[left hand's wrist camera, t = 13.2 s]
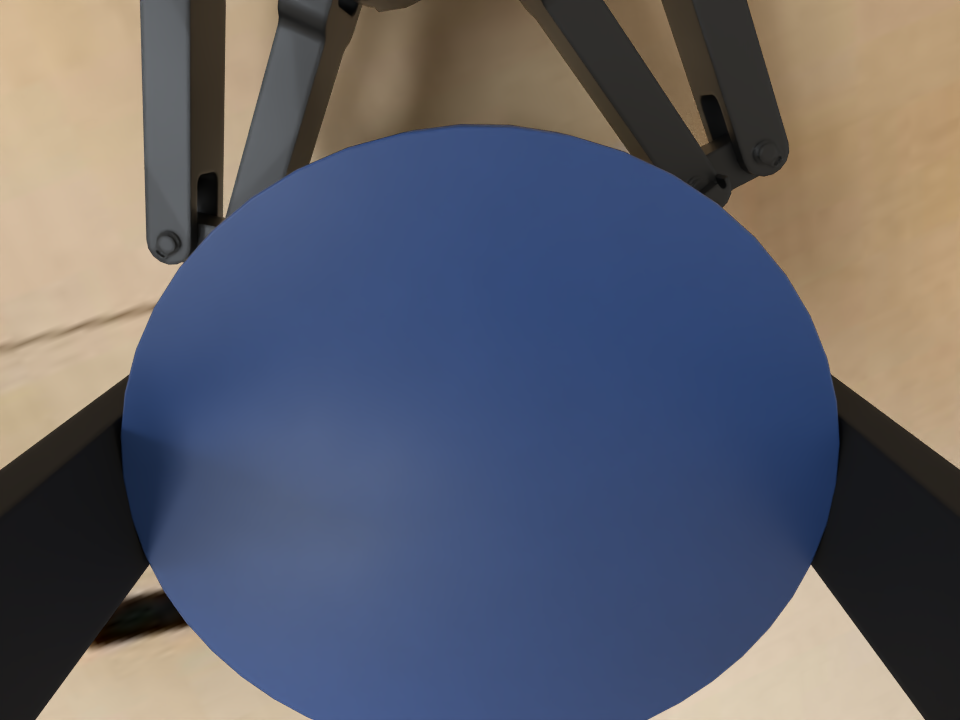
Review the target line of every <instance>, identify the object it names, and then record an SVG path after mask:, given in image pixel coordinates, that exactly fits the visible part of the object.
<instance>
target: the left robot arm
mask: <svg viewBox="0 0 960 720" xmlns="http://www.w3.org/2000/svg"><path fill="white" fill-rule="evenodd" d="M129 375H130V374H129ZM129 375H128V376H127V377H125V378H124V379H123V380H121V381H120V382H119V383H117V384H116V385H114V386H113V387H112V388H110V389H109V390H108V391H106V392H105V393H104V394H102V395H101V396H100V397H98V398H97V399H96V400H94V401H93V402H92V403H90V404H89V405H87V406H86V407H85V408H83V409H82V410H81V411H79V412H78V413H77V414H75V415H74V416H73V417H71V418H70V419H69V420H67V421H66V422H65V423H63V424H62V425H60V426H59V427H58V428H56V429H55V430H54V431H52V432H51V433H50V434H48V435H47V436H46V437H44V438H43V439H42V440H40V441H39V442H38V443H36V444H35V445H34V446H32V447H31V448H29V449H28V450H27V451H25V452H24V453H23V454H21V455H20V456H19V457H17V458H16V459H15V460H13V461H12V462H11V463H9V464H8V465H7V466H5V467H4V468H2V469H1V470H0V720H36V718H37V717H38V715H39V714H40V713H41V711H42V710H43V709H44V707H45V706H46V705H47V703H48V702H49V700H50V699H51V698H52V696H53V695H54V694H55V692H56V691H57V690H58V688H59V687H60V685H61V684H62V683H63V681H64V680H65V679H66V677H67V676H68V675H69V673H70V672H71V671H72V669H73V668H74V666H75V665H76V664H77V662H78V661H79V660H80V658H81V657H82V656H83V654H84V653H85V651H86V650H87V649H88V647H89V646H90V645H91V643H92V642H93V641H94V639H95V638H96V636H97V635H98V634H99V632H100V631H101V630H102V628H103V627H104V626H105V624H106V623H107V622H108V620H109V619H110V617H111V616H112V615H113V613H114V612H115V611H116V609H117V608H118V607H119V605H120V604H121V602H122V601H123V600H124V598H125V597H126V596H127V594H128V593H129V592H130V590H131V589H132V587H133V586H134V585H135V583H136V582H137V581H138V579H139V578H140V577H141V575H142V574H143V572H144V571H145V570H146V568H147V567H148V566H149V562H148V560H147V558H146V556H145V554H144V551H143V548H142V546H141V543H140V540H139V537H138V534H137V532H136V529H135V526H134V523H133V520H132V516H131V511H130V506H129V502H128V497H127V493H126V488H125V483H124V479H123V469H122V451H121V427H122V417H123V407H124V396H125V390H126V386H127V382H128V379H129ZM831 377H832V382H833V386H834V391H835V395H836V400H837V411H838V426H839V441H840V447H839V458H838V470H837V481H836V486H835V490H834V495H833V499H832V504H831V508H830V512H829V517H828V521H827V526H826V528H825V531H824V533H823V536H822V538H821V541H820V543H819V546H818V548H817V551H816V554H815V556H814V559H813V561H812V563H811V565H812V567H813V568H814V569H815V571H816V572H817V573H818V575H819V576H820V577H821V579H822V580H823V581H824V583H825V584H826V586H827V587H828V588H829V590H830V591H831V592H832V594H833V595H834V596H835V598H836V599H837V601H838V602H839V603H840V605H841V606H842V607H843V609H844V610H845V611H846V613H847V614H848V615H849V617H850V618H851V620H852V621H853V622H854V624H855V625H856V626H857V628H858V629H859V630H860V632H861V633H862V635H863V636H864V637H865V639H866V640H867V641H868V643H869V644H870V645H871V647H872V648H873V650H874V651H875V652H876V654H877V655H878V656H879V658H880V659H881V660H882V662H883V663H884V664H885V666H886V667H887V669H888V670H889V671H890V673H891V674H892V675H893V677H894V678H895V679H896V681H897V682H898V684H899V685H900V686H901V688H902V689H903V690H904V692H905V693H906V694H907V696H908V697H909V699H910V700H911V701H912V703H913V704H914V705H915V707H916V708H917V709H918V711H919V712H920V713H921V715H922V716H923V718H924V719H925V720H960V470H959V469H958V468H957V467H955V466H954V465H953V464H951V463H950V462H949V461H947V460H946V459H944V458H943V457H942V456H940V455H939V454H938V453H936V452H935V451H934V450H932V449H931V448H930V447H928V446H927V445H926V444H924V443H923V442H922V441H920V440H919V439H918V438H916V437H915V436H913V435H912V434H911V433H909V432H908V431H907V430H905V429H904V428H903V427H901V426H900V425H899V424H897V423H896V422H895V421H893V420H892V419H891V418H889V417H888V416H886V415H885V414H884V413H882V412H881V411H880V410H878V409H877V408H876V407H874V406H873V405H872V404H870V403H869V402H868V401H866V400H865V399H864V398H862V397H861V396H859V395H858V394H857V393H855V392H854V391H853V390H851V389H850V388H849V387H847V386H846V385H845V384H843V383H842V382H841V381H839V380H838V379H837V378H835V377H834V376H832V375H831Z"/></svg>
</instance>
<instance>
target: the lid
mask: <svg viewBox="0 0 960 720" xmlns="http://www.w3.org/2000/svg"><path fill="white" fill-rule="evenodd" d="M839 447H840V441H839V426H838V411H837V400H836V395H835V391H834V386H833V382H832V377H831V373H830V369H829V364H828V360H827V356H826V354H825V351H824V349H823V346H822V344H821V341H820V339H819V336H818V334H817V331H816V329H815V326H814V324H813V321H812V319H811V316H810V314H809V313H808V311H807V309H806V308H805V306H804V304H803V302H802V301H801V299H800V297H799V296H798V294H797V292H796V291H795V289H794V287H793V286H792V284H791V282H790V281H789V279H788V277H787V275H786V274H785V273H784V272H783V271H782V269H781V268H780V267H779V266H778V264H777V263H776V262H775V261H774V260H773V258H772V257H771V256H770V255H769V254H768V252H767V251H766V250H765V249H764V247H763V246H762V245H761V244H760V243H759V241H758V240H757V239H756V238H755V237H754V236H753V235H752V234H751V233H750V232H749V231H747V230H746V229H745V228H744V227H743V226H742V225H741V224H740V223H739V222H737V221H736V220H735V219H734V218H733V217H732V216H731V215H730V214H728V213H727V212H726V211H725V210H724V209H723V208H722V207H721V206H720V205H718V204H717V203H716V202H714V201H713V200H711V199H710V198H708V197H707V196H705V195H704V194H702V193H701V192H699V191H698V190H696V189H694V188H693V187H691V186H690V185H688V184H687V183H685V182H684V181H682V180H681V179H679V178H678V177H676V176H675V175H673V174H671V173H669V172H667V171H665V170H662V169H660V168H658V167H656V166H654V165H652V164H650V163H647V162H645V161H643V160H641V159H639V158H637V157H635V156H632V155H630V154H628V153H626V152H624V151H621V150H617V149H614V148H611V147H607V146H604V145H601V144H597V143H594V142H591V141H587V140H584V139H581V138H577V137H574V136H571V135H567V134H562V133H558V132H552V131H546V130H539V129H533V128H526V127H520V126H513V125H486V124H458V125H450V126H442V127H434V128H427V129H419V130H412V131H408V132H403V133H399V134H395V135H392V136H388V137H384V138H381V139H377V140H373V141H370V142H366V143H362V144H359V145H355V146H351V147H348V148H345V149H343V150H340V151H338V152H336V153H334V154H331V155H329V156H327V157H324V158H322V159H320V160H317V161H315V162H313V163H310V164H308V165H306V166H303V167H301V168H299V169H297V170H295V171H293V172H292V173H290V174H288V175H287V176H285V177H284V178H282V179H280V180H279V181H277V182H275V183H274V184H272V185H271V186H269V187H267V188H266V189H264V190H262V191H261V192H259V193H258V194H256V195H254V196H253V197H251V198H250V199H249V200H248V201H246V202H245V203H244V204H243V205H242V206H240V207H239V208H238V209H237V210H236V211H235V212H233V213H232V214H231V215H230V216H229V217H227V218H226V219H225V220H224V221H223V222H222V223H220V224H219V225H218V226H217V227H216V228H214V229H213V230H212V231H211V232H210V233H209V235H208V236H207V237H206V238H205V239H204V240H203V241H202V243H201V244H200V245H199V246H198V247H197V248H196V249H195V251H194V252H193V253H192V254H191V255H190V256H189V257H188V259H187V260H186V261H185V262H184V263H183V264H182V265H181V267H180V268H179V269H178V271H177V272H176V274H175V276H174V277H173V279H172V280H171V282H170V283H169V285H168V287H167V288H166V290H165V291H164V293H163V295H162V296H161V298H160V299H159V301H158V302H157V304H156V306H155V307H154V309H153V311H152V314H151V316H150V318H149V321H148V323H147V325H146V328H145V330H144V332H143V335H142V337H141V339H140V341H139V344H138V346H137V348H136V351H135V355H134V359H133V363H132V367H131V371H130V375H129V379H128V382H127V386H126V390H125V396H124V407H123V417H122V427H121V451H122V469H123V479H124V483H125V488H126V493H127V497H128V502H129V506H130V511H131V516H132V520H133V523H134V526H135V529H136V532H137V534H138V537H139V540H140V543H141V546H142V548H143V551H144V554H145V556H146V558H147V560H148V562H149V564H150V566H151V567H152V569H153V571H154V573H155V575H156V577H157V579H158V581H159V583H160V585H161V587H162V588H163V590H164V592H165V593H166V594H167V596H168V597H169V599H170V600H171V602H172V603H173V604H174V606H175V607H176V609H177V610H178V612H179V613H180V614H181V616H182V617H183V619H184V620H185V621H186V623H187V624H188V625H189V626H190V627H191V628H192V629H193V630H194V632H195V633H196V634H197V635H198V636H199V637H200V638H201V639H202V640H203V641H204V643H205V644H206V645H207V646H208V647H209V648H210V649H211V650H212V651H213V652H214V653H215V654H216V655H217V656H218V657H220V658H221V659H222V660H223V661H224V662H225V663H226V664H228V665H229V666H230V667H231V668H232V669H233V670H235V671H236V672H237V673H238V674H239V675H240V676H241V677H243V678H244V679H246V680H247V681H249V682H250V683H251V684H253V685H254V686H256V687H257V688H259V689H260V690H262V691H263V692H264V693H266V694H267V695H269V696H270V697H272V698H273V699H275V700H277V701H279V702H280V703H282V704H284V705H286V706H288V707H290V708H291V709H293V710H295V711H297V712H299V713H301V714H302V715H304V716H306V717H308V718H310V719H313V720H648V719H650V718H652V717H654V716H656V715H657V714H659V713H661V712H663V711H665V710H667V709H669V708H671V707H673V706H675V705H677V704H679V703H681V702H682V701H684V700H685V699H687V698H688V697H690V696H691V695H693V694H694V693H696V692H697V691H699V690H700V689H702V688H703V687H705V686H706V685H708V684H709V683H711V682H712V681H714V680H715V679H716V678H717V677H718V676H720V675H721V674H722V673H723V672H724V671H726V670H727V669H728V668H729V667H730V666H732V665H733V664H734V663H735V662H736V661H738V660H739V659H740V658H741V657H742V656H743V655H744V654H745V653H746V652H747V651H748V650H749V649H750V648H751V647H752V646H753V645H754V644H755V643H756V642H757V641H758V640H759V639H760V637H761V636H762V635H763V634H764V633H765V632H766V631H767V630H768V629H769V628H770V627H771V625H772V624H773V623H774V621H775V620H776V619H777V617H778V616H779V615H780V613H781V612H782V611H783V609H784V608H785V606H786V605H787V604H788V602H789V601H790V600H791V598H792V597H793V595H794V594H795V592H796V590H797V588H798V586H799V585H800V583H801V581H802V579H803V578H804V576H805V574H806V572H807V570H808V569H809V567H810V565H811V563H812V561H813V559H814V556H815V554H816V551H817V548H818V546H819V543H820V541H821V538H822V536H823V533H824V531H825V528H826V526H827V521H828V517H829V512H830V508H831V504H832V499H833V495H834V490H835V486H836V481H837V470H838V458H839Z"/></svg>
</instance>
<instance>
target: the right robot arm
mask: <svg viewBox="0 0 960 720" xmlns="http://www.w3.org/2000/svg"><path fill="white" fill-rule="evenodd" d="M418 1H420V0H278V14H279V22H278V27H277V30H276V34H275V38H274V41H273V45H272V49H271V52H270V56H269V60H268V63H267V67H266V71H265V74H264V78H263V82H262V85H261V89H260V93H259V97H258V100H257V104H256V108H255V111H254V115H253V119H252V122H251V126H250V130H249V133H248V137H247V141H246V144H245V148H244V152H243V155H242V159H241V163H240V166H239V170H238V174H237V177H236V181H235V185H234V188H233V192H232V196H231V200H230V203H229V207H228V211H227V214H226V218H227V217H229V216H230V215H231V214H232V213H233V212H235V211H236V210H237V209H238V208H239V207H240V206H242V205H243V204H244V203H245V202H246V201H248V200H249V199H250V198H251V197H253V196H254V195H256V194H258V193H259V192H261V191H262V190H264V189H266V188H267V187H269V186H271V185H272V184H274V183H275V182H277V181H279V180H280V179H282V178H284V177H285V176H287V175H288V174H290V173H292V172H293V171H295V170H297V169H299V168H301V167H303V166H306V165H308V164H309V163H310V160H311V157H312V153H313V150H314V147H315V144H316V140H317V137H318V134H319V131H320V127H321V124H322V121H323V118H324V114H325V111H326V108H327V105H328V101H329V98H330V95H331V92H332V88H333V85H334V82H335V79H336V75H337V72H338V69H339V66H340V62H341V59H342V56H343V53H344V50H345V48H346V47H347V45H348V44H349V42H350V40H351V38H352V35H353V33H354V30H355V26H356V23H357V20H358V17H359V13H360V10H361V7H362V5H364V6H367V7H372V8H375V9H376V10H377V11H378V12H383V11H389V10H395V9H401V8H406V7H408V6H410V5H412V4H414V3H416V2H418ZM661 1H662V4H663V7H664V10H665V13H666V16H667V19H668V22H669V25H670V27H671V30H672V33H673V36H674V39H675V42H676V45H677V48H678V51H679V54H680V57H681V60H682V63H683V66H684V69H685V72H686V75H687V78H688V81H689V84H690V87H691V90H692V93H693V96H694V99H695V102H696V105H697V108H698V111H699V114H700V117H701V120H702V123H703V126H704V129H705V132H706V135H707V138H708V141H709V143H707V144H706V145H704V146H702V147H700V146H699V144H698V143H697V141H696V140H695V138H694V137H693V135H692V134H691V132H690V130H689V129H688V127H687V126H686V124H685V123H684V121H683V120H682V118H681V117H680V115H679V114H678V112H677V111H676V109H675V108H674V106H673V105H672V103H671V102H670V100H669V99H668V97H667V96H666V94H665V93H664V91H663V90H662V88H661V87H660V85H659V84H658V82H657V81H656V79H655V78H654V76H653V75H652V73H651V72H650V70H649V69H648V67H647V66H646V64H645V63H644V61H643V60H642V58H641V57H640V55H639V54H638V52H637V51H636V49H635V48H634V46H633V44H632V43H631V41H630V40H629V38H628V37H627V35H626V34H625V32H624V31H623V29H622V28H621V26H620V25H619V23H618V22H617V20H616V19H615V17H614V16H613V14H612V13H611V11H610V10H609V8H608V7H607V5H606V4H605V2H604V1H603V0H520V2H521V3H522V4H523V6H524V7H525V8H526V10H527V11H528V12H529V13H530V14H531V15H532V16H533V17H534V18H535V19H536V20H537V22H538V23H539V24H540V26H541V27H542V29H543V30H544V31H545V33H546V34H547V36H548V37H549V39H550V40H551V41H552V43H553V44H554V46H555V47H556V49H557V50H558V51H559V53H560V54H561V56H562V57H563V59H564V60H565V61H566V63H567V64H568V66H569V67H570V69H571V70H572V71H573V73H574V74H575V76H576V77H577V79H578V80H579V81H580V83H581V84H582V86H583V87H584V88H585V90H586V91H587V93H588V94H589V96H590V97H591V98H592V100H593V101H594V103H595V104H596V106H597V107H598V108H599V110H600V111H601V113H602V114H603V116H604V117H605V118H606V120H607V121H608V123H609V124H610V126H611V127H612V128H613V130H614V131H615V133H616V134H617V136H618V137H619V138H620V140H621V141H622V143H623V144H624V146H625V147H626V148H627V150H628V151H629V153H630V154H631V155H632V156H635V157H637V158H639V159H641V160H643V161H645V162H647V163H650V164H652V165H654V166H656V167H658V168H660V169H662V170H665V171H667V172H669V173H671V174H673V175H675V176H676V177H678V178H679V179H681V180H682V181H684V182H685V183H687V184H688V185H690V186H691V187H693V188H694V189H696V190H698V191H699V192H701V193H702V194H704V195H705V196H707V197H708V198H710V199H711V200H713V201H714V202H716V203H717V204H718V205H720V206H721V207H722V208H723V206H724V205H725V204H726V203H727V202H728V199H729V197H730V195H731V191H732V190H733V189H735V188H737V187H738V186H740V185H742V184H744V183H746V182H748V181H750V180H752V179H754V178H756V177H758V176H768V175H772V174H774V173H775V172H777V171H778V170H780V169H781V168H782V166H783V165H784V164H785V162H786V161H787V157H788V154H789V144H788V140H787V136H786V133H785V130H784V126H783V123H782V119H781V116H780V113H779V109H778V106H777V102H776V99H775V96H774V92H773V89H772V85H771V82H770V78H769V75H768V72H767V68H766V65H765V61H764V58H763V55H762V51H761V48H760V44H759V41H758V38H757V34H756V31H755V27H754V24H753V21H752V17H751V14H750V10H749V7H748V4H747V0H661ZM140 17H141V54H142V91H143V128H144V165H145V202H146V239H147V244H148V249H149V250H150V252H151V253H152V255H153V256H154V257H155V258H156V259H158V260H159V261H160V262H163V263H166V264H178V263H181V262H185V261H186V260H187V259H188V257H189V256H190V255H191V254H192V253H193V252H194V251H195V249H196V248H197V247H198V246H199V245H200V244H201V243H202V241H203V240H204V239H205V238H206V237H207V236H208V235H209V233H210V232H211V231H212V230H213V229H214V228H216V227H217V226H218V225H219V224H220V223H222V222H223V221H224V220H225V219H226V218H224V217H223V162H224V91H225V19H226V0H140Z"/></svg>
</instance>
